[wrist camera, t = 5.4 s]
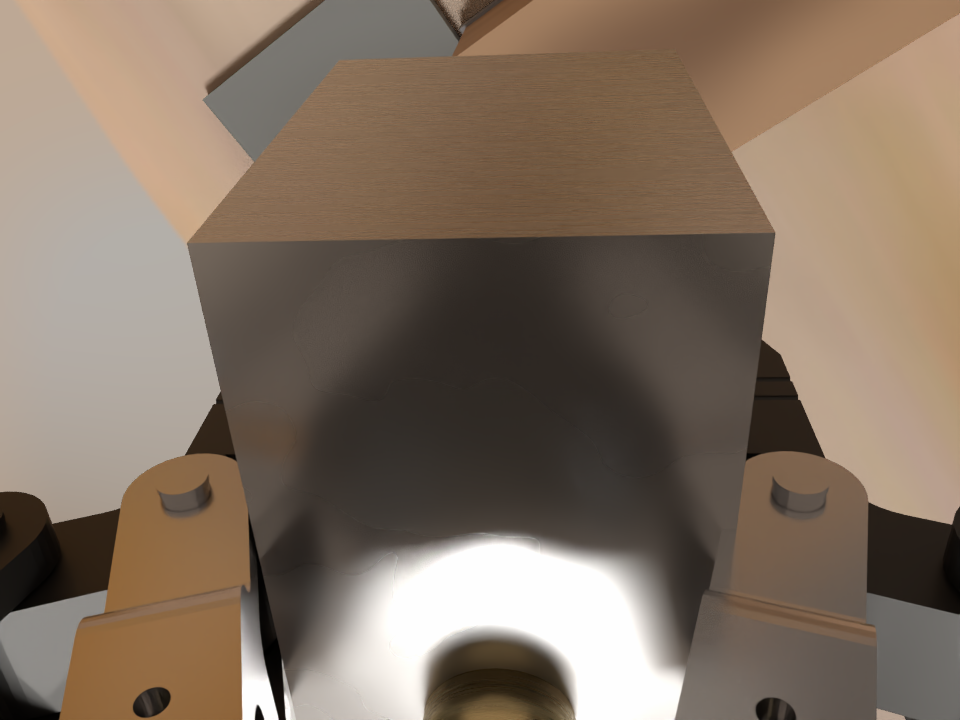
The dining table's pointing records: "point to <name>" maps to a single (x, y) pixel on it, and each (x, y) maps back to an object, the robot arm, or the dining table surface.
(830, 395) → the dining table surface
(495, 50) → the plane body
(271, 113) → the mat
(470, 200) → the drawer with brass knob
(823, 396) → the dining table surface
